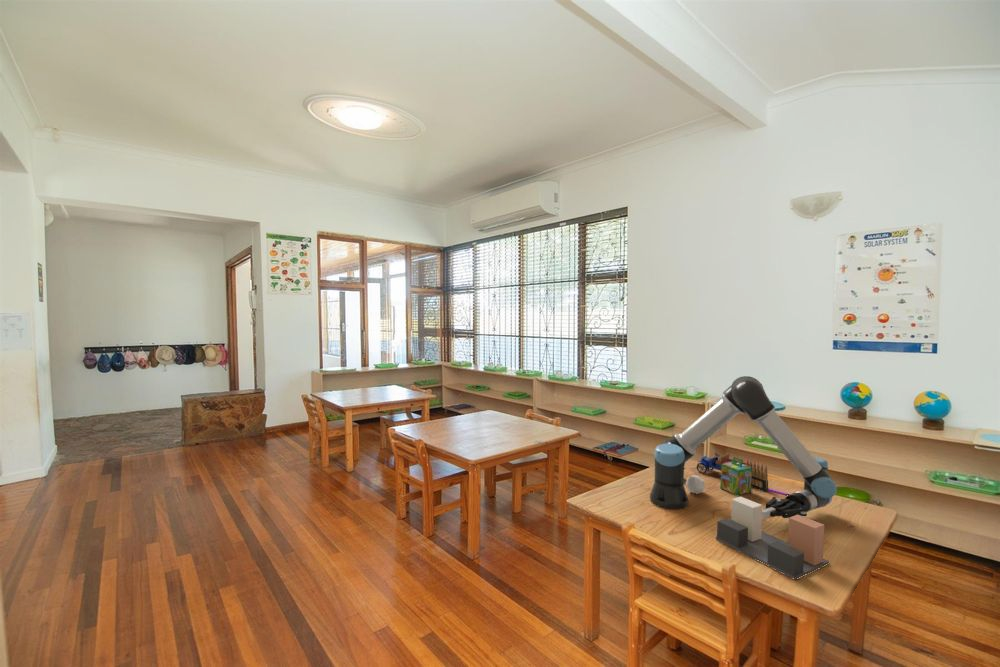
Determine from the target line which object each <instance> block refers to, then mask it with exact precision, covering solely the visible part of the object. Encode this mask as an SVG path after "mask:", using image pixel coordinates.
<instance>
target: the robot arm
mask: <svg viewBox="0 0 1000 667" xmlns="http://www.w3.org/2000/svg"><path fill="white" fill-rule="evenodd" d="M775 408H776V407H775V406H774V404H773V403H772V402H771V400H770V399H769V396H768V395H767V393H766V391H765V389H764V386H763V384H762V383H761V382H760V380H758V379H757V378H755V377H753V376H748V375H745V376H740V377H737V378H736V379H734V380H733V382H732V383H731V385H730V386H729V387H727V389H725V390H724V391H722V393H721V398H720V399H719V401H717V402H716V403H715V404H713V405H712V406H711V407H710V408H709V409H708V410H706V411H705V412H704V413H703V414H702V415H701V416H699V417H698V418H697V419H696V420H695V421H694V422H692V423H691V424H690V425H689V426H688V427H687V428H685V429H684V430H683V431H682V432H681V433H677V432H676V433H674V434H673V435H672V436H671V437H670V438H668V439H665V440H664V441H663V442H662V443H661V444H659V445H658V444H657V446H656V447H655V449H654V453H653V454H654V455H653V456H654V482H653V485H652V488H651V490H650V493H649V501H650V500H651V501H650V502H651V503H652V502H653V503H654V505H655V504H656V505H655V506H657V505H658V507H661V508H664V509H669V510H682V509H686V508H687V507H688V505H689V498H688V495H687V492H686V488H685V486H684V485H685V481H684V480H685V474H684V473H685V469H684V468H685V464H686V462H687V461H689V460H690V459H691V458H692V457H694V456H695V455H696V449H697V448H699V446H701V445H702V444H703V443H705V442H706V441H707V440H708V439H710V437H712V436H713V435H714V434H716V433H717V432H718V431H719V430H720V429H721V428H722V427H724V426H725V425H726V424H727V423H729V422H730V421H731V420H732V419H733V418H735V416H737V415H739V414H743V415H744V414H746V415H747V416H748V417H749V418H750V420H752V421H754V422H756V423H758V425H759V427H760V428H761V429H763V431H764V432H765V433H766V435H767V436H768V438H770V439H771V441H772V442H773V443H774V444H775V445H776V446H777V448H778V449H779V450H780V452H781V453H782V454H783V455H784V456H785V458H786V459H787V460H788V461H789V463H790V464H791V465H792V466H793V467H794V469H796V471H797V472H798V474H800V475H801V477H802V479H803V481H804V482H803V489H801V490H798V491H795V492H792V493H788V494H789V495H788V496H787V495H786V497H784V498H780V499H778V498H776V497H775V496H772V497H771V499H770V500H769V501H768V502H766V503H765V508H763V509H762V520H767V519H770V518H776V517H781V518H783V519H789V518H790V517H792V516H795V515H800V516H803V517H807V515H808V513H807V512H812V511H814V510H817V509H820V508H824V507H826V506H827V505H829V504H830V503H831V502H832V501H833V497H834V496H835V495H837V491H838V488H837V484H836V483H835V481H834V480H833V478H832V477H831V475H830V474H829V472H828V470H829V467H828V466H829V465H828V461H827V460H826V459H824V458H820V457H816V456H813V455H812V453H811V452H810V451H809V450H808V449H807V448H806V446H805V445H804V444H803V442H801V441H800V439H799V438H798V437H797V436H796V434H795V433H794V432H793V431H792V430H791V429H790V427H789V426H788V425H787V423H786V422H784V420H783V419H782V418H781V416H780V415H779V413H777V412H776V410H775ZM653 503H652V504H653Z"/></svg>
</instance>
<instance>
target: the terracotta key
mask: <svg viewBox="0 0 1000 667" xmlns="http://www.w3.org/2000/svg"><path fill="white" fill-rule="evenodd" d="M787 537H788V541H787V543H788V546H790V547H792V548H794V549H797V550H799V551H801V552H803V553H804V561H805V562H807V563H809V564H812V565H814V566H815V565H817V564H819V563H821V562H823V559H824V547H825V546H824V545H825V541H824V540H825V524H824V523H821V522H818V521H815V520H812V519H810V518H808V517H806V516H800V515H795V516H792V517H790V518H788V536H787Z"/></svg>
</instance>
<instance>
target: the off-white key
mask: <svg viewBox="0 0 1000 667" xmlns="http://www.w3.org/2000/svg"><path fill="white" fill-rule="evenodd" d="M762 510H763V504H761V503H758V502H755V501H754V500H752V499H751V500H750V499H748V498H745V497H743V496H737V497H735V498H732V499H731V510H730V512H731V514H730V516H731V517H730V520H733V521H735V522H737V523H739V524H741V525H744V526H746V527H748V540H749V541H752V542H753V541H756V540H758V539H761V531H762V526H763V525H762V522H763V521H762V520H763V519H762Z"/></svg>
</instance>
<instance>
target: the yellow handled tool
mask: <svg viewBox="0 0 1000 667" xmlns="http://www.w3.org/2000/svg"><path fill="white" fill-rule="evenodd" d="M768 492H771V493H775V494H778V495H782V494H783V496H787V495H789V494H790V493H787V492H784V491H783V492H782V491H779V490H775V489H773V488H769V487H768Z"/></svg>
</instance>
